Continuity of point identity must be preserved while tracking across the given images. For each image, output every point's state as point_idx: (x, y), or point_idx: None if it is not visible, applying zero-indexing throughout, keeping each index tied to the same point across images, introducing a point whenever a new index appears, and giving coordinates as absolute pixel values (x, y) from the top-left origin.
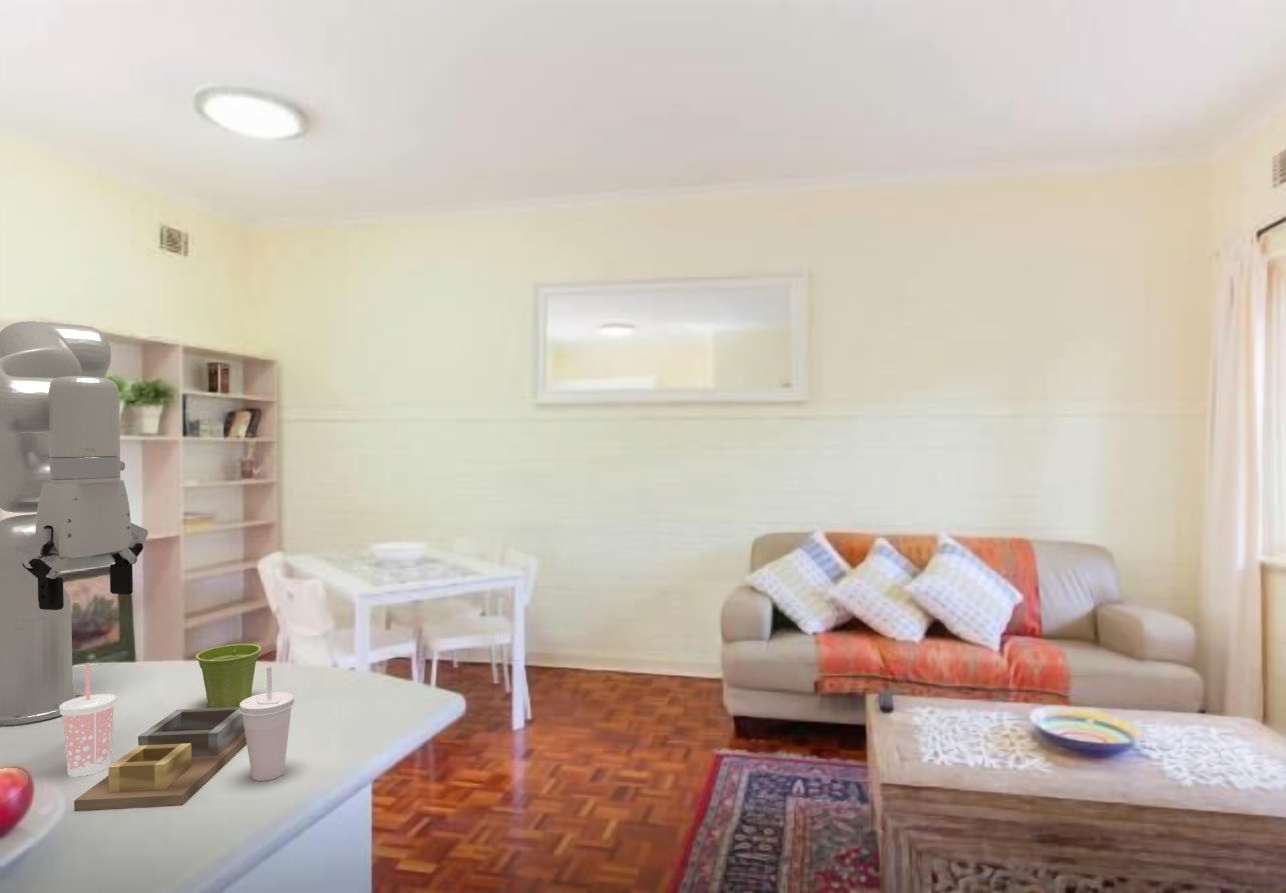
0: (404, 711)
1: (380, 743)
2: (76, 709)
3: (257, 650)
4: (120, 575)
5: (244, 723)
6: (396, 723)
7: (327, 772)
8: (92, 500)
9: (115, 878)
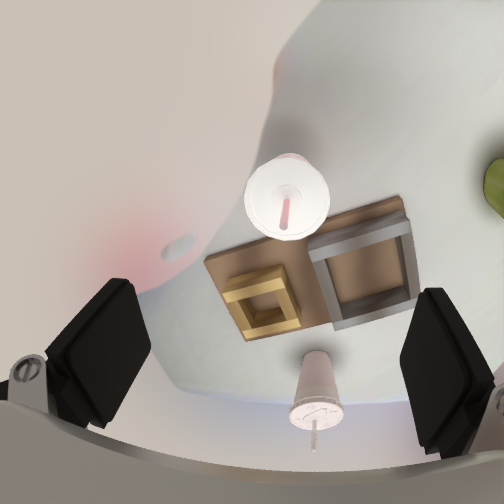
0: None
1: (385, 394)
2: (250, 218)
3: None
4: (424, 393)
5: (298, 394)
6: None
7: None
8: None
9: (159, 356)
